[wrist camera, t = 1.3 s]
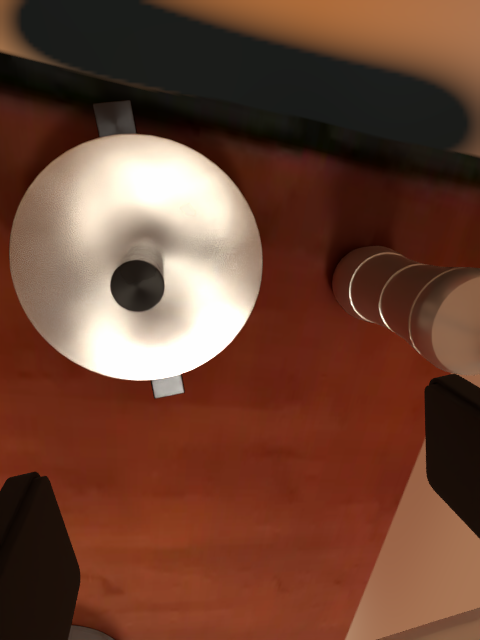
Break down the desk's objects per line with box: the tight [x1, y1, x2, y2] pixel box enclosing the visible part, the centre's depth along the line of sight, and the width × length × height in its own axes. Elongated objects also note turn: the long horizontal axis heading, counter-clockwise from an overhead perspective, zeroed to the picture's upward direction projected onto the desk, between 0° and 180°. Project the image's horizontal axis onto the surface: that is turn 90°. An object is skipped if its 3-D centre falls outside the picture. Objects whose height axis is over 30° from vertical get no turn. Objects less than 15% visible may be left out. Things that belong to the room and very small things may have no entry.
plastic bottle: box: [332, 246, 480, 375], centre depth 29 cm, size 6×7×20 cm
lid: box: [9, 133, 263, 380], centre depth 26 cm, size 17×17×8 cm
